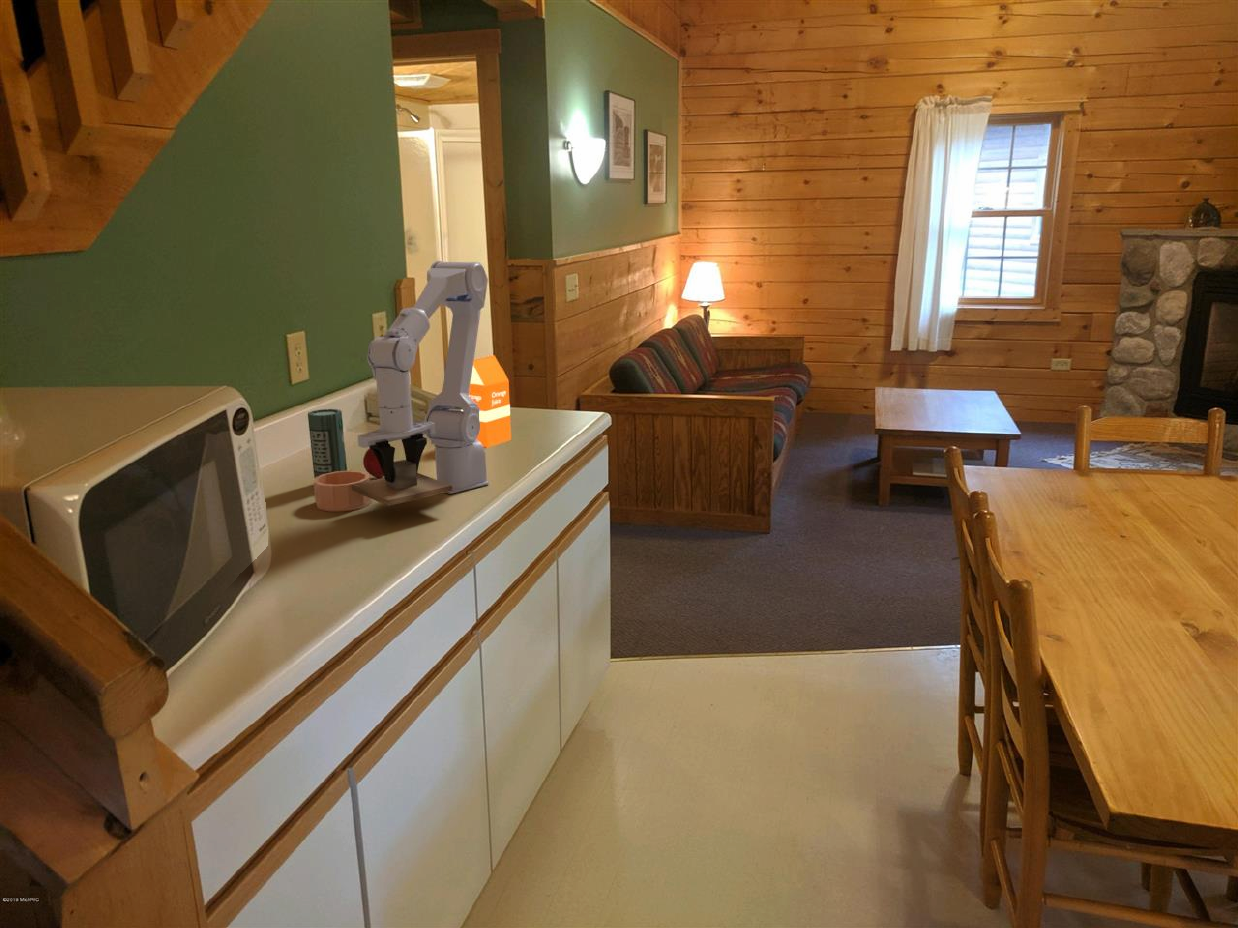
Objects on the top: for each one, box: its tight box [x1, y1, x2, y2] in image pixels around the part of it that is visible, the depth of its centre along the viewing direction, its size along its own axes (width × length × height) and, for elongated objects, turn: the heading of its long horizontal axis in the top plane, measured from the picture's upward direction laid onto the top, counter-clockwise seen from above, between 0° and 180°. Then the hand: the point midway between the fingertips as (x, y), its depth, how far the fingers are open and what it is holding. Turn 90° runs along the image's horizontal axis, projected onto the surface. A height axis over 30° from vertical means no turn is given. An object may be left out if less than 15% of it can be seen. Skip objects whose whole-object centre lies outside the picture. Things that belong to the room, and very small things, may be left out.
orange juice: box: [460, 355, 512, 448], centre depth 216 cm, size 8×9×20 cm
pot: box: [313, 469, 373, 513], centre depth 174 cm, size 10×10×5 cm
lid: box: [351, 459, 452, 507], centre depth 167 cm, size 13×13×5 cm
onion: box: [362, 447, 384, 479], centre depth 189 cm, size 6×6×8 cm
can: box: [307, 408, 348, 480], centre depth 184 cm, size 6×6×15 cm
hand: (401, 478), depth 167 cm, fingers closed on lid, 4 cm apart
